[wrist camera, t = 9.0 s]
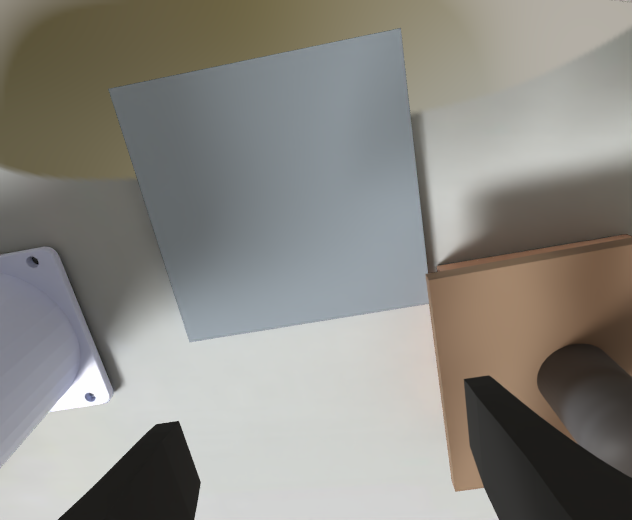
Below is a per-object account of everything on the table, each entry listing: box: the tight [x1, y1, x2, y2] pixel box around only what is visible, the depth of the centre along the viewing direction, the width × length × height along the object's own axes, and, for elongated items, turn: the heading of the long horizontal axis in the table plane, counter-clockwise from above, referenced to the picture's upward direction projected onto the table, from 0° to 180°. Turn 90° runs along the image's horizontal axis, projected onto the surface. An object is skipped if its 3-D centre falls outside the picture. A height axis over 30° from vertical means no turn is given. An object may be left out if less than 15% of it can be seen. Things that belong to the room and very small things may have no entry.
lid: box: [425, 237, 632, 492], centre depth 16 cm, size 10×10×5 cm
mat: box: [108, 28, 429, 342], centre depth 19 cm, size 11×11×1 cm
